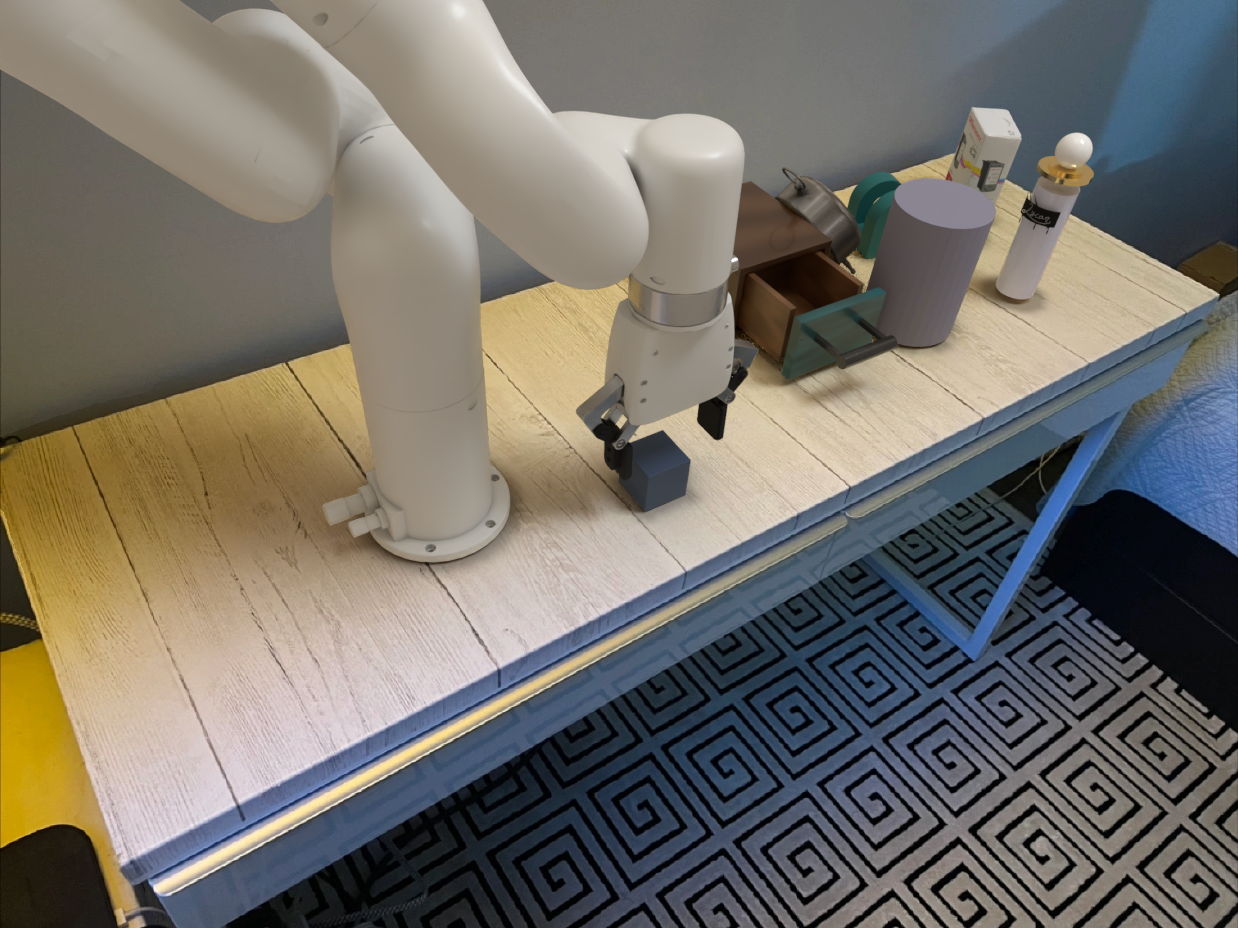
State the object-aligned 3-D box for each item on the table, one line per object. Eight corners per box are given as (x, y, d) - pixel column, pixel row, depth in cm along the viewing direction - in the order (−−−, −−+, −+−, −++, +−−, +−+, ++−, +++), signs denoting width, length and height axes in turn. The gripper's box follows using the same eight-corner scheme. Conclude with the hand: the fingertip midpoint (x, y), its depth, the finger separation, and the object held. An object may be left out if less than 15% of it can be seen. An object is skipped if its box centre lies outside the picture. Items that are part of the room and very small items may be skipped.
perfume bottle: (1004, 274, 113) (1069, 117, 99) (1046, 296, 110) (1119, 137, 96) (978, 290, 110) (1041, 130, 96) (1020, 313, 107) (1092, 152, 93)
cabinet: (815, 309, 106) (832, 239, 99) (728, 340, 101) (740, 269, 94) (739, 248, 114) (750, 180, 108) (655, 273, 109) (662, 204, 103)
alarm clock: (794, 244, 116) (742, 166, 103) (825, 212, 115) (776, 130, 102) (850, 287, 109) (802, 210, 97) (883, 254, 109) (839, 172, 96)
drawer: (901, 374, 97) (921, 317, 91) (819, 408, 92) (835, 350, 87) (790, 285, 107) (802, 230, 102) (711, 312, 103) (720, 255, 98)
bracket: (865, 258, 114) (881, 201, 108) (841, 230, 119) (855, 174, 113) (989, 243, 118) (1011, 187, 113) (961, 216, 123) (981, 161, 117)
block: (644, 512, 82) (648, 477, 79) (618, 480, 85) (621, 445, 81) (685, 494, 84) (691, 460, 81) (658, 464, 86) (662, 429, 83)
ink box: (941, 187, 128) (968, 104, 120) (977, 190, 128) (1006, 107, 120) (954, 219, 122) (983, 134, 114) (992, 222, 122) (1024, 137, 114)
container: (841, 315, 105) (874, 196, 95) (896, 285, 110) (933, 169, 100) (914, 360, 100) (957, 239, 89) (968, 327, 105) (1015, 209, 94)
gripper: (740, 233, 74) (719, 393, 86) (553, 295, 68) (558, 459, 80) (799, 279, 70) (768, 441, 82) (605, 350, 63) (603, 514, 75)
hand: (665, 449), depth 81 cm, fingers open, 9 cm apart
